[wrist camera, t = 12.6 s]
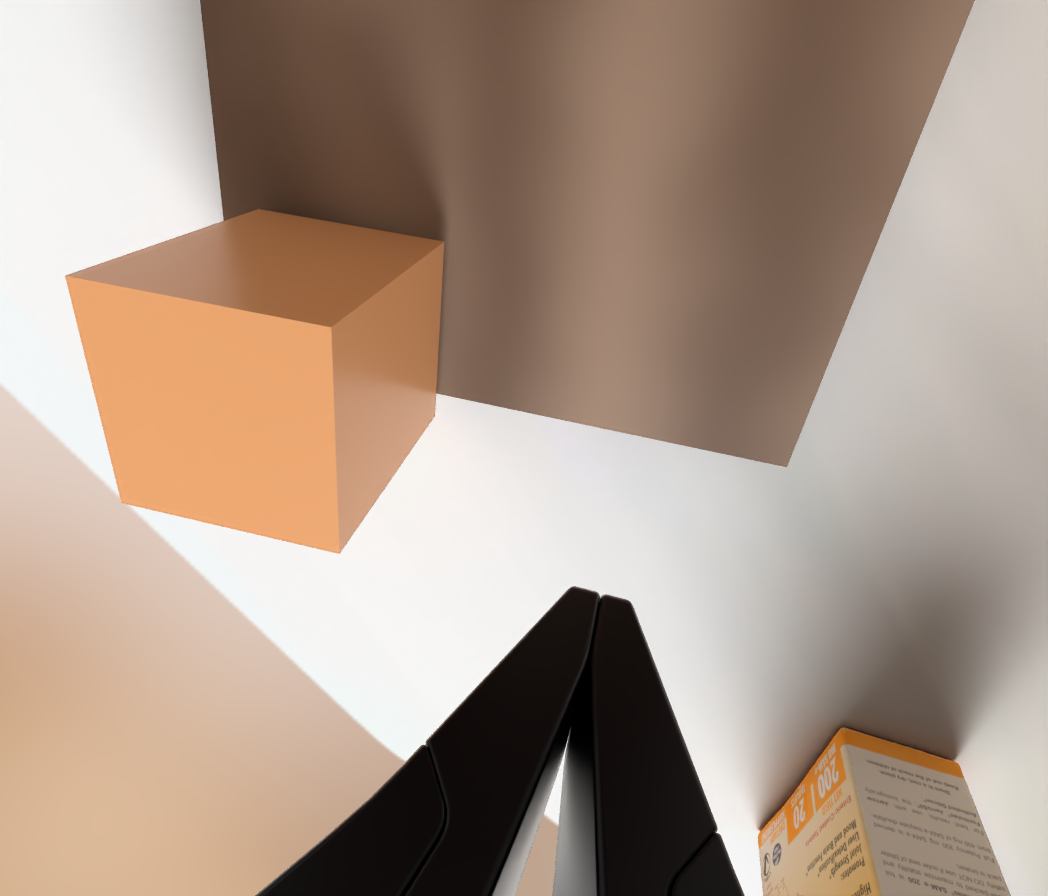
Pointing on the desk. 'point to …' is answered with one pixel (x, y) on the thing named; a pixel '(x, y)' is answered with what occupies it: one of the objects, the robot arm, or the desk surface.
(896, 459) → the desk surface
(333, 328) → the peach wooden cube
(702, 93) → the walnut board
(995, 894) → the supplement box
